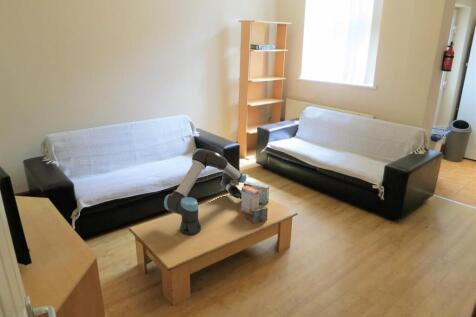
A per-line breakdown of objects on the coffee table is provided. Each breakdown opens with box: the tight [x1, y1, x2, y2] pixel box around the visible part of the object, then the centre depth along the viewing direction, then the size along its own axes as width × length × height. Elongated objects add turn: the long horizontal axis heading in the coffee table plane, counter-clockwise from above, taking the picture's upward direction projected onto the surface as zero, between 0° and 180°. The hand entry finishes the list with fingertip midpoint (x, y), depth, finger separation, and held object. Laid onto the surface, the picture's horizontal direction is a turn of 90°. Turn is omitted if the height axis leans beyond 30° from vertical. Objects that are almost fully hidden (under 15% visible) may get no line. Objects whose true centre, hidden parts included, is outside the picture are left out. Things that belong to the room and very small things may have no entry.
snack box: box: [243, 180, 270, 205], centre depth 288 cm, size 21×6×15 cm, turn 63°
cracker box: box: [240, 185, 260, 217], centre depth 267 cm, size 14×6×21 cm, turn 42°
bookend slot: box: [244, 206, 269, 224], centre depth 262 cm, size 12×13×10 cm
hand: (246, 200), depth 275 cm, fingers closed
